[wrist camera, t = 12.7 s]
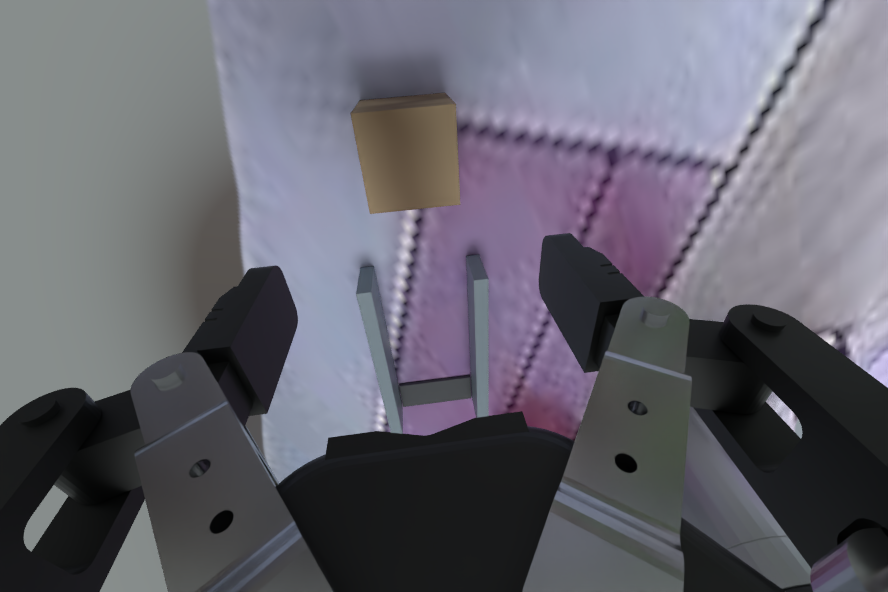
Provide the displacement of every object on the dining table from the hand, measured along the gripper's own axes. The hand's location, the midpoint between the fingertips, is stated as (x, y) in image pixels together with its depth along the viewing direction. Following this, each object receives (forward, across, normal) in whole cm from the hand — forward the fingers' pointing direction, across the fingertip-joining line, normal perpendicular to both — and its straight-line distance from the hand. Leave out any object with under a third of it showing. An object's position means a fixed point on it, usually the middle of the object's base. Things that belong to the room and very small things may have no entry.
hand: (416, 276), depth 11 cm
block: (+15, 0, -1) cm, 15 cm away
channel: (+14, 0, +16) cm, 21 cm away
